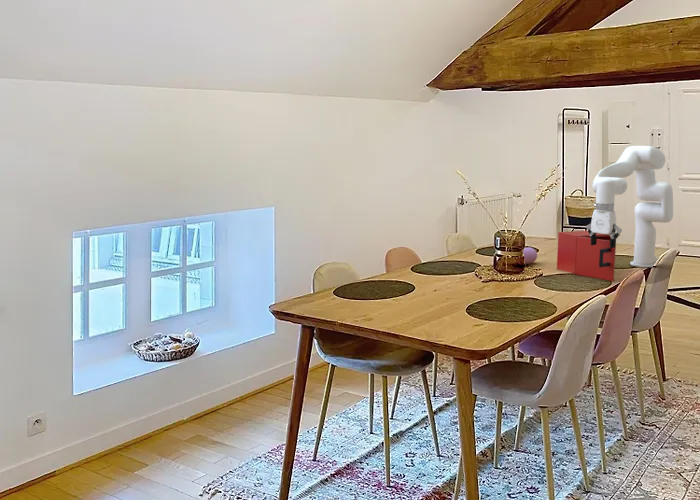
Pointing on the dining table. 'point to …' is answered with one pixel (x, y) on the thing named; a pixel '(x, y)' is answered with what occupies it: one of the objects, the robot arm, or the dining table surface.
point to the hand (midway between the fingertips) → (602, 246)
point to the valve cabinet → (571, 248)
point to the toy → (529, 255)
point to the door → (595, 259)
